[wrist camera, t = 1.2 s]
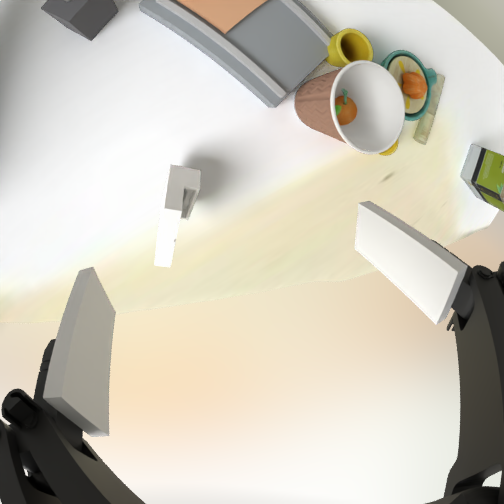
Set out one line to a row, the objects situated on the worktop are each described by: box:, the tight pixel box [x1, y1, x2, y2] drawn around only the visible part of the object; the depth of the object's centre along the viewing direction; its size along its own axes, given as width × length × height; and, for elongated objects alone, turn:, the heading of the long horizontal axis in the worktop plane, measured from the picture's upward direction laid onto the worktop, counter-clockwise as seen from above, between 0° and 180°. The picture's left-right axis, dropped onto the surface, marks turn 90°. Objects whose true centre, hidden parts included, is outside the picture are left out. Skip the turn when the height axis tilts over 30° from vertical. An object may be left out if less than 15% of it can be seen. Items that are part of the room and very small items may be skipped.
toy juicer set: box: [325, 29, 445, 155], centre depth 32 cm, size 29×18×8 cm, turn 90°
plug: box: [41, 0, 118, 41], centre depth 14 cm, size 5×5×11 cm
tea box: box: [460, 144, 504, 211], centre depth 43 cm, size 15×10×15 cm
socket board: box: [139, 0, 333, 107], centre depth 23 cm, size 22×14×3 cm, turn 48°
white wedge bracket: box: [155, 165, 201, 267], centre depth 30 cm, size 4×10×9 cm, turn 162°
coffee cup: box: [294, 60, 405, 154], centre depth 27 cm, size 10×10×12 cm
